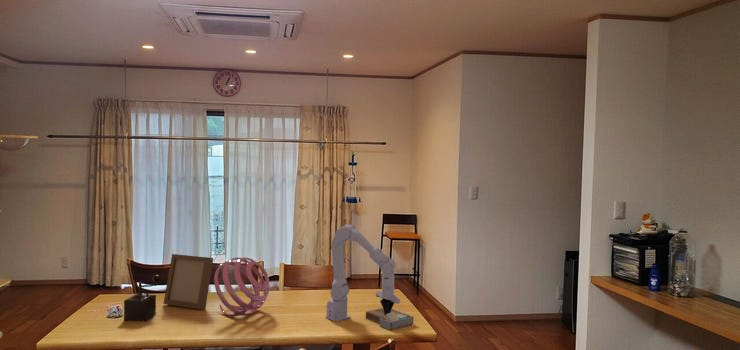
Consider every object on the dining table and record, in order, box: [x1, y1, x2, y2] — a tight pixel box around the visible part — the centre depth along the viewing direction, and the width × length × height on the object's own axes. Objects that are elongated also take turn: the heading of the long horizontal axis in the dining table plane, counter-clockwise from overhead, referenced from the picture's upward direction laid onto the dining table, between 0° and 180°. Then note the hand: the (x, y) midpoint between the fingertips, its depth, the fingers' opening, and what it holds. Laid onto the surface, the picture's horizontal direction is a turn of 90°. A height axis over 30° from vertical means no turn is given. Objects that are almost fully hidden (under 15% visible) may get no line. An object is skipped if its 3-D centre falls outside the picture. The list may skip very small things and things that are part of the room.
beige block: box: [384, 312, 399, 322], centre depth 219 cm, size 5×5×3 cm
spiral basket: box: [213, 257, 271, 317], centre depth 231 cm, size 28×28×27 cm
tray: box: [379, 312, 414, 332], centre depth 219 cm, size 14×7×4 cm, turn 130°
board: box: [365, 307, 402, 325], centre depth 228 cm, size 13×12×3 cm
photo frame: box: [163, 253, 214, 310], centre depth 244 cm, size 15×22×25 cm
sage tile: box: [396, 314, 408, 320], centre depth 223 cm, size 5×5×3 cm
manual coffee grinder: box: [123, 274, 162, 322], centre depth 224 cm, size 16×11×18 cm
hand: (387, 315), depth 221 cm, fingers closed
